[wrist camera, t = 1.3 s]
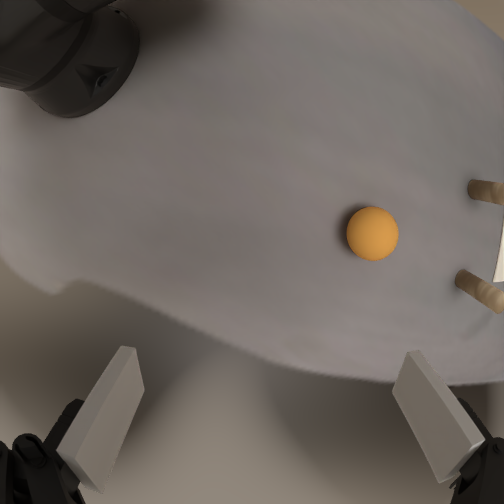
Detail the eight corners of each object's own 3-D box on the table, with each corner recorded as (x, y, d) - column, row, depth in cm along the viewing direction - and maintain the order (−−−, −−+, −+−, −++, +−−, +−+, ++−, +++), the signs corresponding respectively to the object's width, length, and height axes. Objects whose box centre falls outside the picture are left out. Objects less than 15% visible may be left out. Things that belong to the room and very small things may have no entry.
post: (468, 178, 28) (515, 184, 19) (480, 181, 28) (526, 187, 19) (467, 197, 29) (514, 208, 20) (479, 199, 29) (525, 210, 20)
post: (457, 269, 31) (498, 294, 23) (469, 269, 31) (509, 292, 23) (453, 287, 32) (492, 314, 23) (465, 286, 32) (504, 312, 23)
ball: (341, 202, 29) (359, 208, 24) (386, 205, 29) (410, 212, 24) (338, 252, 31) (354, 267, 25) (381, 253, 31) (403, 267, 25)
